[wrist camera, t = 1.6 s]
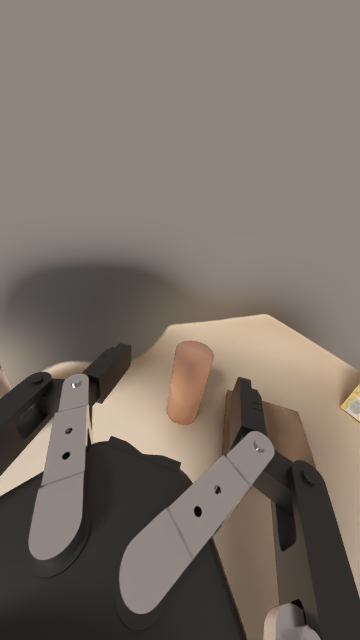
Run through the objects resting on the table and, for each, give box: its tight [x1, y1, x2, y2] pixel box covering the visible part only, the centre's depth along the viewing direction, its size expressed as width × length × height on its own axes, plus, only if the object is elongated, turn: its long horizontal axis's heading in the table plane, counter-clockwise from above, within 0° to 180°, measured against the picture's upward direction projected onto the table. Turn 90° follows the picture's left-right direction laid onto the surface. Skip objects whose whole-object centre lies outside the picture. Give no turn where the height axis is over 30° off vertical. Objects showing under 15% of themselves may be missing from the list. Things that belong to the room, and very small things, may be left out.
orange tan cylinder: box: [167, 341, 214, 425], centre depth 30 cm, size 6×6×13 cm
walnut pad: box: [222, 390, 316, 469], centre depth 30 cm, size 13×13×1 cm
